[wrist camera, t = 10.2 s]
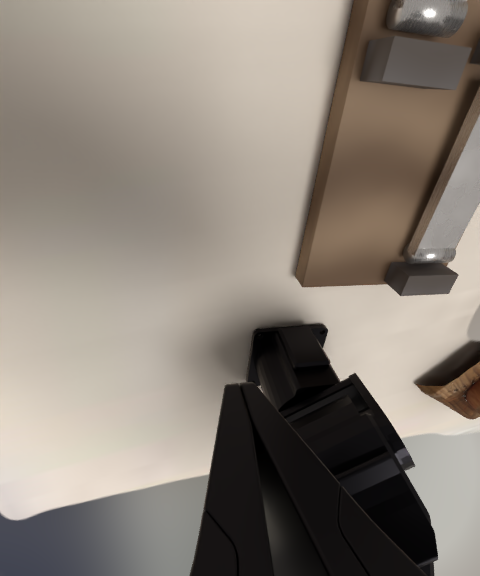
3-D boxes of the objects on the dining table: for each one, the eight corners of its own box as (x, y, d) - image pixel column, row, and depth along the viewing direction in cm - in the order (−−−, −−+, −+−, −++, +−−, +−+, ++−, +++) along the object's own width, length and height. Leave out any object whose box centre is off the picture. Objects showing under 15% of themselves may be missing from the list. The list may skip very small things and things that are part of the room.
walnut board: (425, 272, 26) (463, 300, 23) (295, 276, 23) (316, 308, 20) (727, -370, 11) (955, -553, 8) (467, -538, 9) (644, -898, 6)
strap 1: (435, 256, 23) (449, 266, 22) (400, 257, 22) (412, 267, 21) (523, 83, 17) (548, 85, 16) (478, 78, 16) (501, 78, 15)
